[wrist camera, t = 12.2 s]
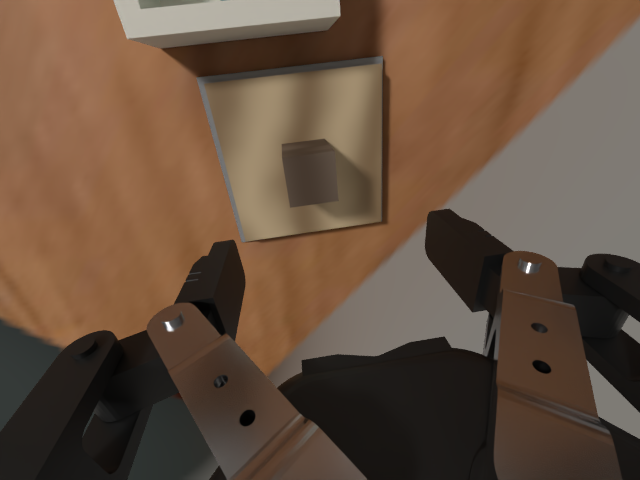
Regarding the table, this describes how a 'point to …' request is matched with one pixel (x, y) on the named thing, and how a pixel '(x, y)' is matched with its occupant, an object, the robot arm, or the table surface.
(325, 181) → the lid
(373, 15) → the table surface
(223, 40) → the box
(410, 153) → the table surface
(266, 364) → the table surface
